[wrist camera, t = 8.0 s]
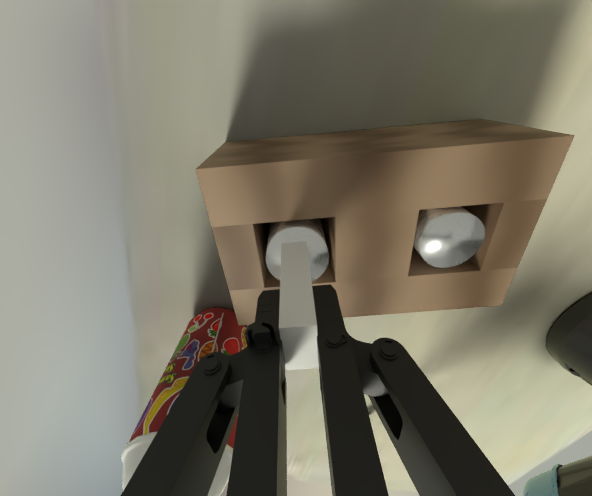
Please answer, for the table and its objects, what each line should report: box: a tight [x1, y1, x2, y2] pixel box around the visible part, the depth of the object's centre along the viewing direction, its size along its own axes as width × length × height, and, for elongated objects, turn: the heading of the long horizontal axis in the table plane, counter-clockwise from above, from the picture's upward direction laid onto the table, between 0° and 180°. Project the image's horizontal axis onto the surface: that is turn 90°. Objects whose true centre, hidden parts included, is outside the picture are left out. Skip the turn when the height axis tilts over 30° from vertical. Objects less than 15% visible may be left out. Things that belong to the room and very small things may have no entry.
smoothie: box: [121, 307, 247, 496], centre depth 23 cm, size 8×8×20 cm
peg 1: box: [266, 218, 329, 281], centre depth 20 cm, size 4×4×8 cm
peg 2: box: [413, 206, 485, 268], centre depth 20 cm, size 4×4×8 cm
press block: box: [196, 119, 575, 325], centre depth 21 cm, size 20×12×8 cm, turn 95°
